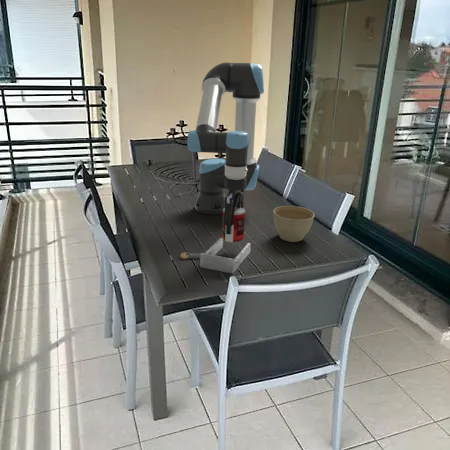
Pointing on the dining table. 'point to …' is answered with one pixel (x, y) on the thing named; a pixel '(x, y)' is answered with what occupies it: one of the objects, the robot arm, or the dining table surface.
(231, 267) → the channel
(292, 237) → the planter bowl
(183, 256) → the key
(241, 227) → the canned food
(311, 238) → the dining table surface
